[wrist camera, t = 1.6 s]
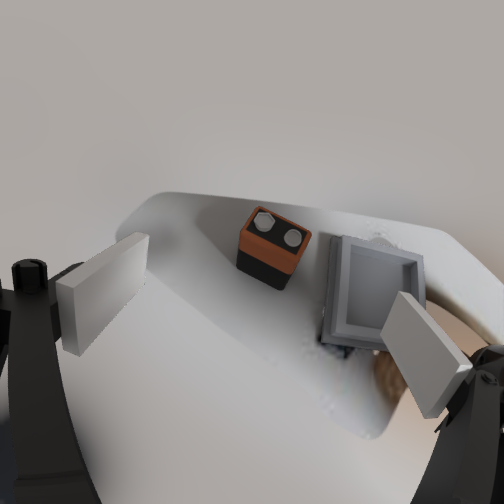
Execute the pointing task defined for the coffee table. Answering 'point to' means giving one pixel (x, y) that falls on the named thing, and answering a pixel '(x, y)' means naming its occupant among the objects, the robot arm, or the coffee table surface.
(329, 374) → the coffee table surface
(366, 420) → the coffee table surface
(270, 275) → the battery
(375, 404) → the coffee table surface
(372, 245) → the charging dock
